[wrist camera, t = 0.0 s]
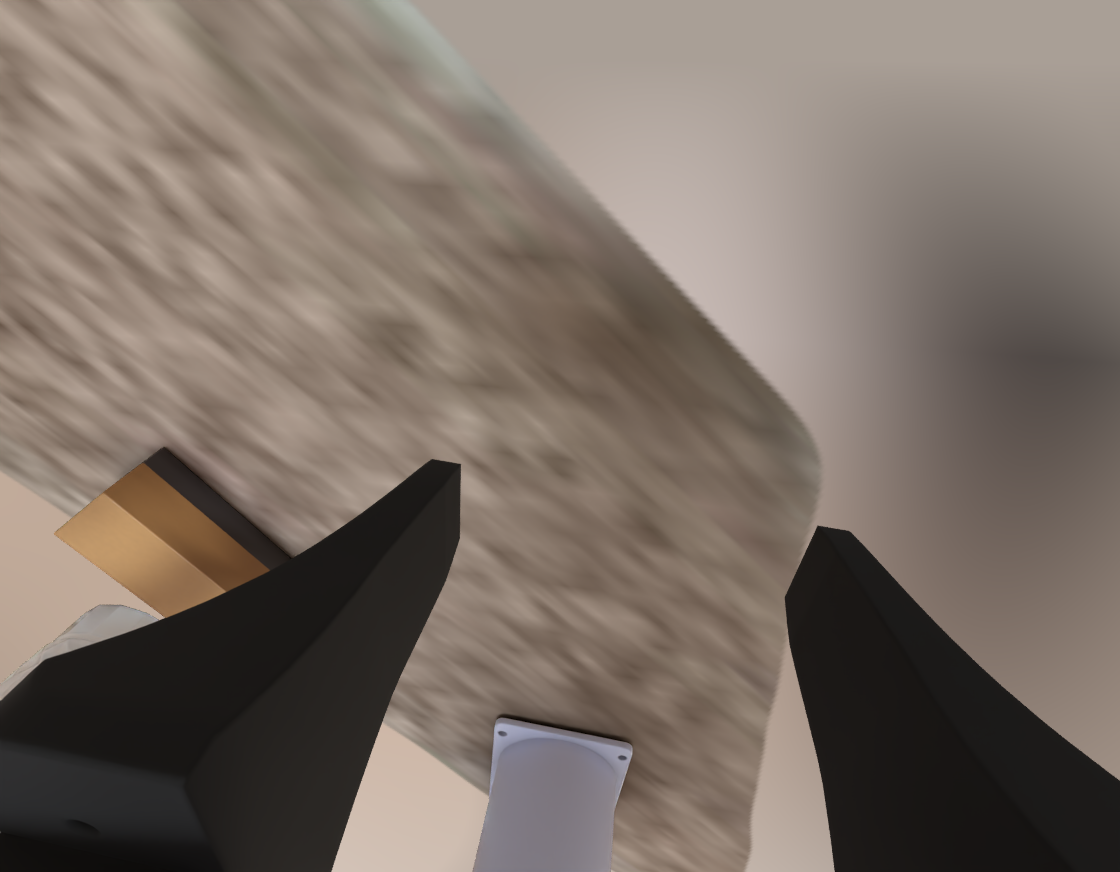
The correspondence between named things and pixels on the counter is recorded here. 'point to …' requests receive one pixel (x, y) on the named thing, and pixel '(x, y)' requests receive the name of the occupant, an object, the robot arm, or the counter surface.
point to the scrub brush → (169, 537)
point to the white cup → (82, 637)
